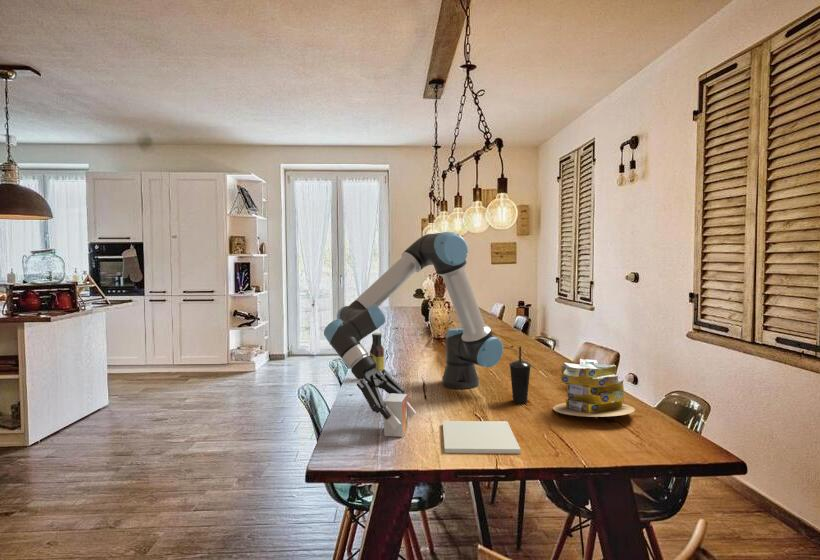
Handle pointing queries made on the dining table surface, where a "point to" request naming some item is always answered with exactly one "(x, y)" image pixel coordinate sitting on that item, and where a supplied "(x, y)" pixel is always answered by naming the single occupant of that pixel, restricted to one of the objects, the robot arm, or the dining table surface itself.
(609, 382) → the stacked boxes on plate
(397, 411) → the small box
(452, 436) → the white square board
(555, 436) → the dining table surface
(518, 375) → the drinking cup
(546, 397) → the dining table surface
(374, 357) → the sauce bottle
